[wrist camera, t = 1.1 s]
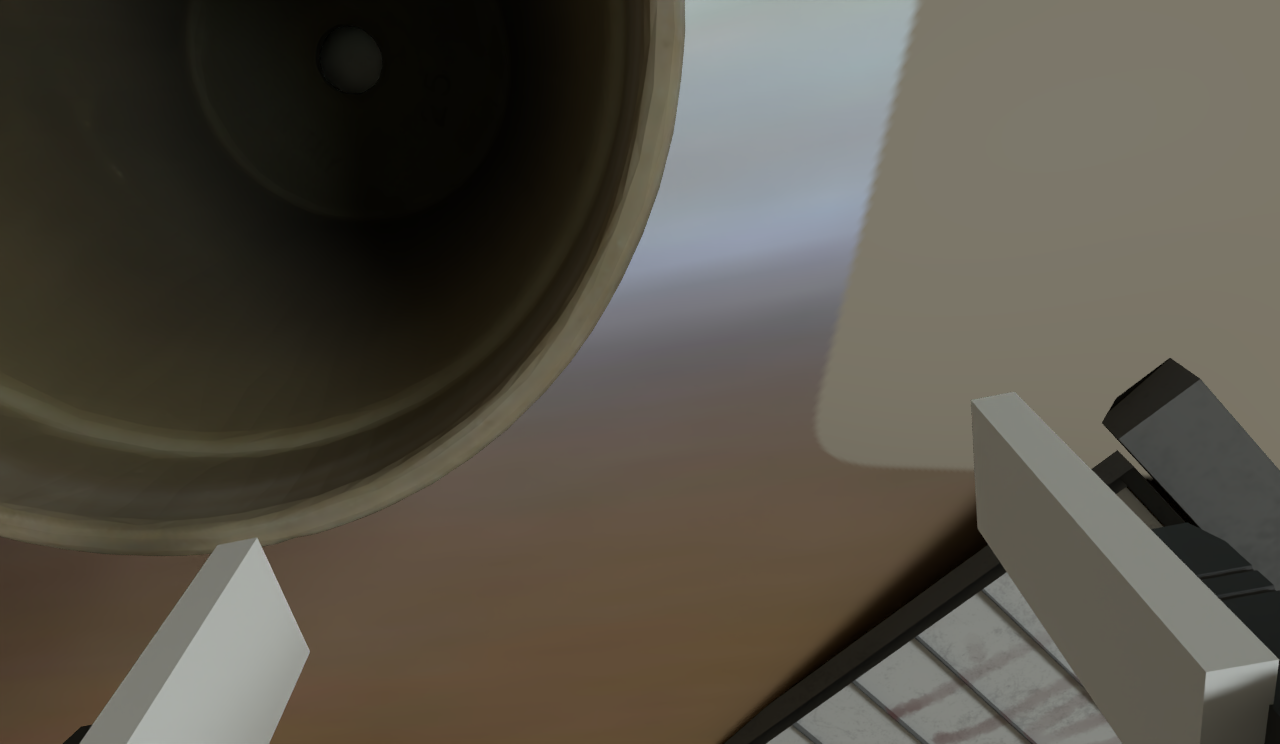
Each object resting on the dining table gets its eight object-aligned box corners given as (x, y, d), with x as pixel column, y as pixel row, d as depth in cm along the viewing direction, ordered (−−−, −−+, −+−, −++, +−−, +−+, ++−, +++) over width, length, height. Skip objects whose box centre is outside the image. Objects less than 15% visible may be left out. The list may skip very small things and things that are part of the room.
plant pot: (130, 362, 41) (-336, 617, 21) (-27, -242, 34) (-990, -787, 13) (656, 315, 42) (718, 516, 21) (610, -288, 35) (636, -874, 14)
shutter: (1024, 928, 62) (1453, 689, 53) (1068, 1037, 56) (1564, 787, 47) (713, 690, 53) (1163, 350, 44) (722, 788, 47) (1252, 414, 37)
